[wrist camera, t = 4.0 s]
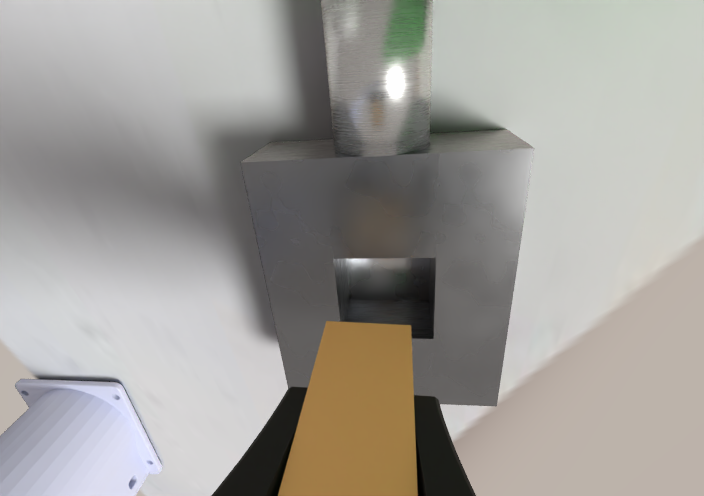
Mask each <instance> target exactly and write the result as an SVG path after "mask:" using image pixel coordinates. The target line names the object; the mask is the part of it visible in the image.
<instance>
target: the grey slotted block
mask: <svg viewBox="0 0 704 496" xmlns="http://www.w3.org/2000/svg"><path fill="white" fill-rule="evenodd" d="M432 7H433V0H321V9H322V20H323V30H324V41H325V52H326V62H327V73H328V83H329V94H330V104H331V115H332V125H333V136H334V139H321V140H303V141H285V142H270V143H268V144H267V145H266V146H264V147H263V148H261V149H260V150H258V151H257V152H255V153H254V154H252V155H251V156H249V157H248V158H246V159H245V160H243V161H242V162H240V163H241V168H242V172H243V177H244V182H245V187H246V191H247V196H248V201H249V205H250V210H251V215H252V220H253V224H254V229H255V234H256V238H257V243H258V248H259V252H260V257H261V262H262V267H263V271H264V276H265V281H266V285H267V290H268V295H269V300H270V304H271V309H272V314H273V318H274V323H275V328H276V333H277V337H278V342H279V347H280V351H281V356H282V361H283V365H284V370H285V375H286V380H287V384H288V389H289V388H290V387H292V386H293V387H307V388H308V385H309V382H310V378H311V375H312V371H313V368H314V364H315V360H316V357H317V353H318V350H319V346H320V342H321V339H322V335H323V332H324V328H325V324H326V321H336V322H356V323H376V324H396V325H411V335H412V361H413V387H414V395H420V396H434V397H436V398H437V399H438V400H439V404H453V405H478V406H497V400H498V393H499V386H500V380H501V373H502V366H503V359H504V352H505V345H506V339H507V332H508V325H509V318H510V311H511V304H512V298H513V291H514V284H515V277H516V270H517V264H518V257H519V250H520V243H521V236H522V229H523V223H524V216H525V209H526V202H527V195H528V189H529V182H530V175H531V168H532V161H533V154H534V148H533V147H532V146H530V145H529V144H528V143H526V142H525V141H523V140H522V139H520V138H519V137H517V136H516V135H514V134H513V133H511V132H510V131H509V130H507V129H501V130H483V131H465V132H447V133H430V107H431V57H432Z"/></svg>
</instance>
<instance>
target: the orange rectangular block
mask: <svg viewBox="0 0 704 496" xmlns="http://www.w3.org/2000/svg"><path fill="white" fill-rule="evenodd" d="M278 496H418V490H417V464H416V438H415V412H414V387H413V361H412V335H411V325H396V324H376V323H356V322H336V321H326V324H325V328H324V332H323V335H322V339H321V342H320V346H319V350H318V353H317V357H316V360H315V364H314V368H313V371H312V375H311V378H310V382H309V385H308V389H307V393H306V396H305V400H304V403H303V407H302V411H301V414H300V418H299V422H298V425H297V429H296V432H295V436H294V439H293V443H292V446H291V450H290V454H289V457H288V461H287V464H286V468H285V472H284V475H283V479H282V482H281V486H280V490H279V493H278Z"/></svg>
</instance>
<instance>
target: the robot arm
mask: <svg viewBox="0 0 704 496" xmlns="http://www.w3.org/2000/svg"><path fill="white" fill-rule="evenodd" d="M15 387H16V389H17V390H18V392H19V393H20V394H21V396H22V398H23V399H24V401H25V402H26V403H27V405H28V407H29V409H28V410H27V411H26V412H25V413H24V414H23V415H22V416H21V417H20V418H19V419H17V421H15V422H14V423H13V424H12V425H11V426H10V427H9V428H8V429H7V430H6V431H5V432H4V433H3V434H2V435H1V436H0V496H136V494H137V492H138V491H139V489H140V487H141V486H142V484H143V482H144V481H145V479H146V477H147V475H148V474H159V473H160V472H161V470H162V465H161V463H160V461H159V459H158V457H157V455H156V453H155V451H154V449H153V447H152V445H151V443H150V441H149V438H148V436H147V434H146V432H145V430H144V428H143V426H142V424H141V422H140V420H139V418H138V416H137V414H136V412H135V410H134V408H133V406H132V404H131V402H130V400H129V398H128V396H127V394H126V392H125V390H124V388H123V386H122V385H121V384H119V383H116V382H94V381H67V380H39V379H20V380H19V381H18V382H17V383H16V384H15ZM307 389H308V388H307V387H293V386H292V387H290V388H289V389H288V390H287V392H286V394H285V395H284V397H283V399H282V400H281V402H280V403H279V405H278V407H277V408H276V410H275V411H274V413H273V414H272V416H271V417H270V419H269V420H268V422H267V423H266V425H265V426H264V428H263V429H262V431H261V432H260V433H259V435H258V436H257V438H256V439H255V440H254V442H253V443H252V444H251V446H250V447H249V449H248V450H247V451H246V453H245V454H244V455H243V457H242V458H241V459H240V461H239V462H238V463H237V465H236V466H235V467H234V468H233V470H232V471H231V472H230V473H229V475H228V476H227V477H226V478H225V480H224V481H223V482H222V483H221V485H220V486H219V487H218V488H217V490H216V491H215V492H214V493H213V494H212V496H278V493H279V490H280V486H281V482H282V479H283V475H284V472H285V468H286V464H287V461H288V457H289V454H290V450H291V446H292V443H293V439H294V436H295V432H296V429H297V425H298V422H299V418H300V414H301V411H302V407H303V403H304V400H305V396H306V393H307ZM414 412H415V438H416V464H417V490H418V496H476V495H475V493H474V491H473V489H472V486H471V484H470V482H469V480H468V478H467V475H466V473H465V471H464V469H463V466H462V464H461V462H460V460H459V457H458V455H457V453H456V450H455V448H454V445H453V443H452V440H451V437H450V435H449V432H448V429H447V427H446V424H445V421H444V418H443V415H442V411H441V408H440V404H439V400H438V399H437V398H436V397H434V396H420V395H414Z"/></svg>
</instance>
